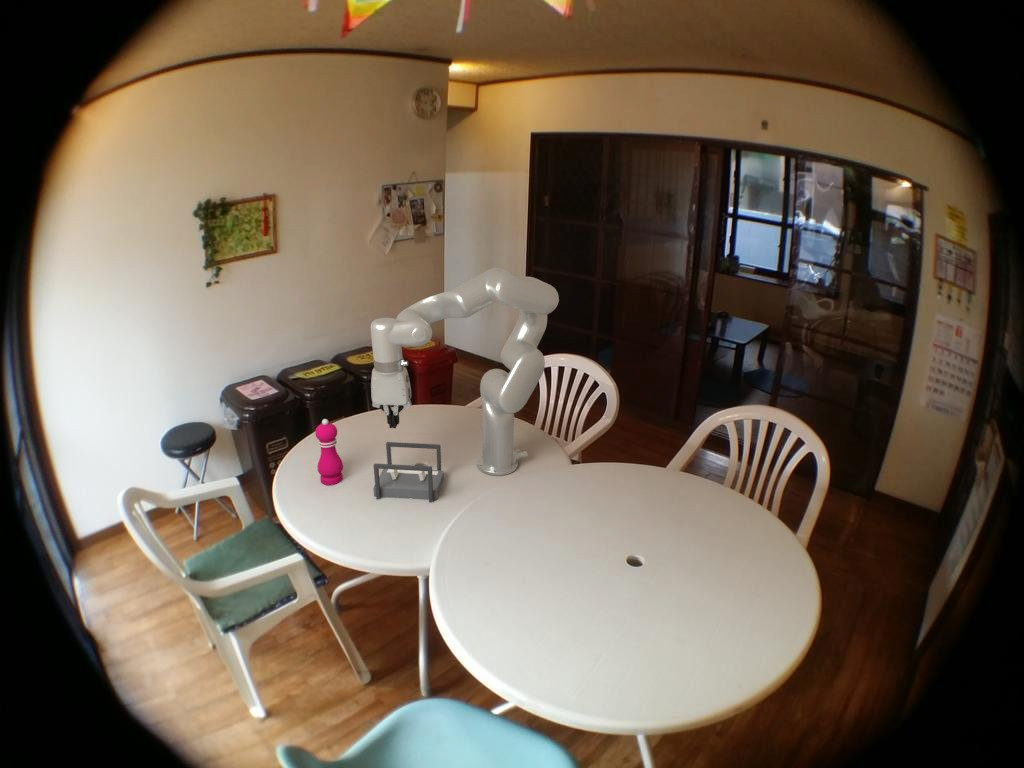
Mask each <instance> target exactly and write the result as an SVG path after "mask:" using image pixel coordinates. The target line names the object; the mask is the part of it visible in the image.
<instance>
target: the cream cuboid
mask: <svg viewBox="0 0 1024 768" xmlns="http://www.w3.org/2000/svg"><path fill="white" fill-rule="evenodd" d="M418 475H419V478H420V481H423V480H424V479H425V476H426V474H425V471H419V473H418Z"/></svg>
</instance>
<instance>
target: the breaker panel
mask: <svg viewBox="0 0 1024 768" xmlns="http://www.w3.org/2000/svg"><path fill="white" fill-rule="evenodd" d="M391 470H392V469H382V471H381V473H379V481H380V493H381V498H394V499H409V498H412V500H428V501H429V488H428V471H425V474H426V476H425V479H424V480H423V481H420V478H419V475H418V473H419V471H412V470H397V471H398V476H397V478H396V479H392V476H391V473H390V472H391ZM432 479H433V501H437V500H438V498H439V494H440V492H441V490H442V487H443V484H444V481H445V472H444V470H442V469H441V470H437V469H435V470H434V469H432ZM372 489H373V497H375V498H376V489H375V484H374V486H373V488H372Z"/></svg>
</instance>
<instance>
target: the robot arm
mask: <svg viewBox="0 0 1024 768" xmlns="http://www.w3.org/2000/svg"><path fill="white" fill-rule="evenodd" d="M559 297H560V295H559V293H558V291H557V289H556V288H555V287H554V286H552V285H551V284H548V283H547V282H544V281H542V280H540V279H538V278H535V277H534V276H533V277H532V276H520V275H518V274H516V273H513V272H510V271H509V270H506V269H504V268H502V267H492V268H490V269H487V270H485V271H484V272H482V273H479V274H478V275H476V276H474V277H473V278H472V279H469V280H468V281H465V282H464V283H462V284H460V285H458V286H457V287H455V288H453V289H450V290H448V291H444V292H440V293H438V294H434V295H431V296H428V297H425V298H423V299H421V300H419V301H417V302H415V303H413V304H411V305H409V306H408V307H406V308H405V309H403V310H402V311H400V312H399V314H398V315H397V316H396V318H393V317H380V318H376V319H373V321H372V322H371V324H370V337H371V345H372V356H373V366H374V367H373V369H372V371H371V382H370V388H371V389H370V390H371V391H370V393H371V395H370V396H371V401H372V405H371V406H372V407H373V408H377V409H380V410H381V411H382V412H383V413H384V415H386V423H387V424H388V425H389V429H396V428H397V426H398V425H399V424H400V413H401V412H402V411H403V410H405V409H406V410H407V409H410V408H411V407H412V406H413V405H412V401H411V399H412V388H411V381H410V377H409V373H408V370H407V366H409V361H408V360H405V359H404V357H403V348H402V347H410V348H411V347H413V348H414V347H422V346H425V345H427V344H428V343H429V342H430V341H431V339H432V336H433V330H432V327H431V324H434V323H436V322H438V321H442V320H446V319H466V318H469V317H471V316H473V315H474V314H477V313H478V312H479V311H482V310H484V309H485V308H487V307H489V306H490V305H493V304H494V303H496V302H498V303H499V304H501V305H504V306H506V307H509V308H513V309H515V310H519V311H518V312H519V314H518V319H517V320H516V323H515V325H514V328H513V329H512V330H511V333H510V334H509V336H508V339H507V340H506V341H505V343H504V345H503V348H502V349H501V352H500V361H501V363H502V364H503V365H504V367H506V368H507V369H508V370H509V372H507V371H505V370H504V369H500V368H493V369H489V370H487V371H486V372H485V373H484V374H483V376H482V377H481V378H480V379H481V380H480V384H479V385H480V386H479V390H480V392H479V393H480V399H481V409H482V456H480V457H479V458H478V460H477V467H478V469H479V470H480V471H481V472H483V473H484V474H487V475H490V476H506V475H509V474H511V473H514V471H516V470H517V468H518V463H519V462H518V460H519V459H523V458H528V452H527V450H525V451H521V449H520V448H518V449H517V448H516V449H514V433H515V432H514V430H515V429H514V426H515V424H514V423H515V414H516V413H517V412H520V411H521V410H522V409H523V408H524V406H526V404H527V403H528V400H529V399H530V397H531V395H532V394H533V392H534V390H535V388H536V387H537V385H538V383H539V381H540V379H541V378H542V375H543V374H544V371H545V368H546V367H545V366H546V361H545V357H544V355H543V353H542V352H541V350H539V349H538V346H539V344H540V342H541V340H542V338H543V335H544V334H545V331H546V330H547V329H546V328H547V325H548V314H551V313H552V312H553V311H554V310H556V308H557V307H558V304H559V301H560V299H559ZM392 406H393V409H392Z"/></svg>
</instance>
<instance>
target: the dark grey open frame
mask: <svg viewBox="0 0 1024 768" xmlns="http://www.w3.org/2000/svg"><path fill="white" fill-rule="evenodd" d="M385 447H386V461H387V463H374V464H373V473H374V485H375V489H376V497H375V498H376V499H375V500H381V499H382V497H381V493H380V481H379V476H380V470H383V469H393V470H412V471H428V488H429V500H428V503H432V502H433V503H434V500H433V479H432V470H433V466H429V465H428V466H426V465H413V464H412V465H409V464H394V463H393V462H392V461H393V460H392V449H391V447H392V448H408V449H410V448H411V449H428V450H429V449H430V450H436V470H441V471H442V455H441V454H442V452H441V450H442V449H441V448H442V447H441V444H435V443H434V444H433V443H413V442H398V441H397V442H396V441H395V442H394V441H387V442H386V443H385ZM379 469H380V470H379Z"/></svg>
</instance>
